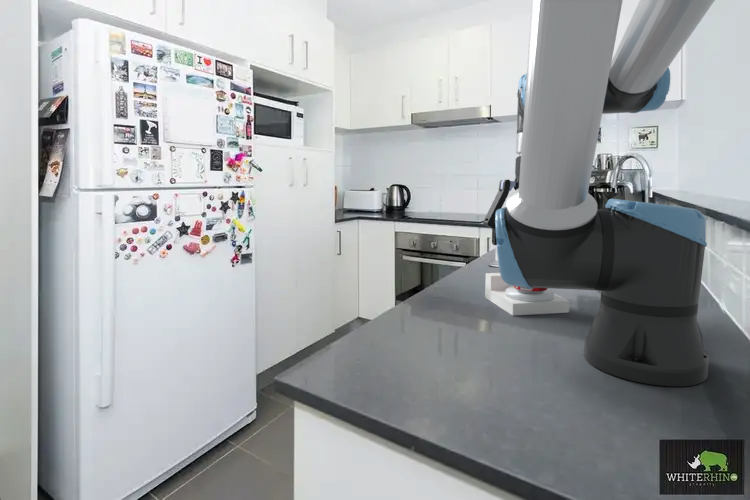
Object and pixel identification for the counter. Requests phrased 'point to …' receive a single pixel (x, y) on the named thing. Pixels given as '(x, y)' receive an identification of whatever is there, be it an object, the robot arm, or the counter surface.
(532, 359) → the counter surface
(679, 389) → the counter surface
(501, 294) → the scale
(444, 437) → the counter surface
